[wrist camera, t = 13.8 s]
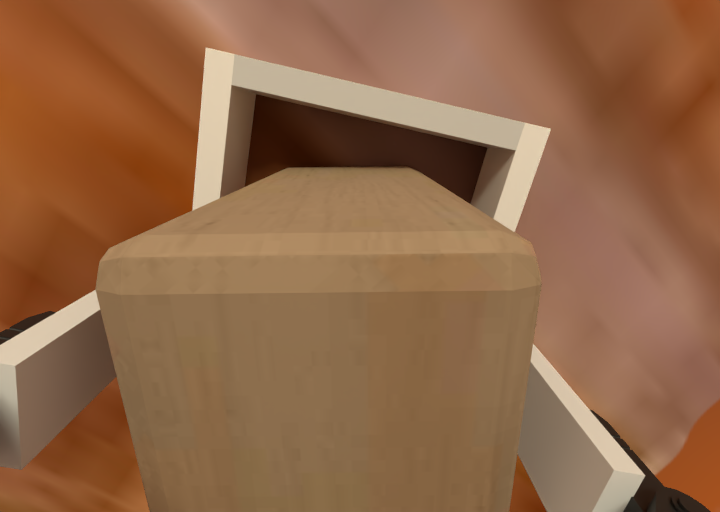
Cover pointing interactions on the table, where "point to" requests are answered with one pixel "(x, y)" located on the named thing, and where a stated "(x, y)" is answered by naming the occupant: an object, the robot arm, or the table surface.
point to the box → (251, 76)
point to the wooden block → (324, 347)
